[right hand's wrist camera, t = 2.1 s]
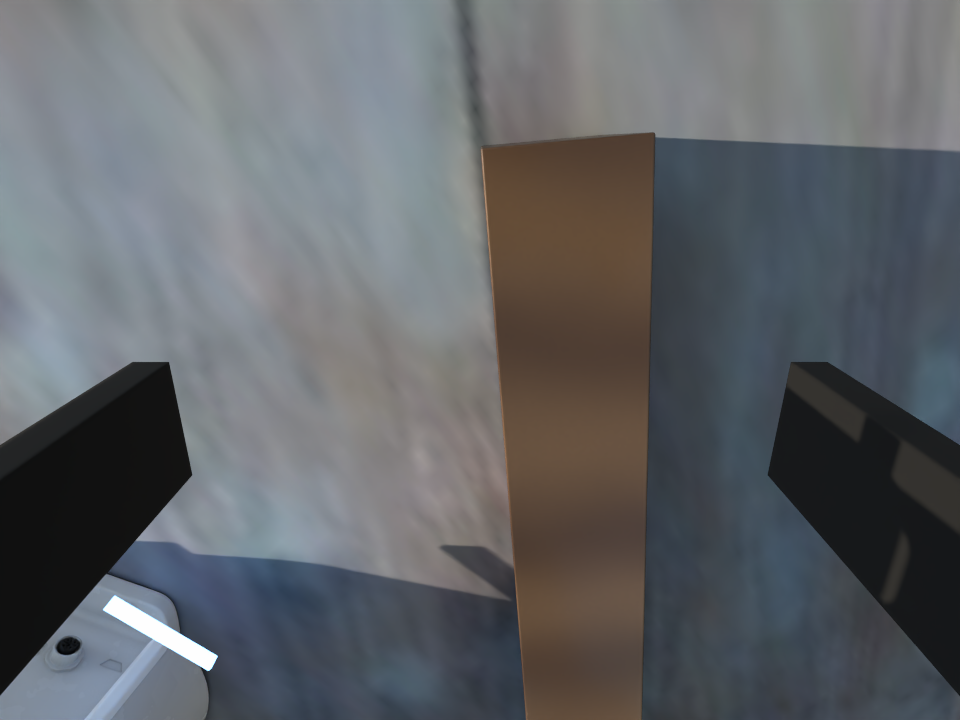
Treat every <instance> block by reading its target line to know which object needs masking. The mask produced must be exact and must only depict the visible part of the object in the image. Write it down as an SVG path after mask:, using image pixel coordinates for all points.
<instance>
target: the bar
mask: <svg viewBox="0 0 960 720" xmlns="http://www.w3.org/2000/svg"><path fill="white" fill-rule="evenodd" d="M481 158H482V171H483V183H484V196H485V208H486V221H487V234H488V246H489V259H490V271H491V284H492V296H493V309H494V322H495V334H496V347H497V359H498V372H499V384H500V397H501V410H502V422H503V435H504V447H505V460H506V472H507V485H508V498H509V510H510V523H511V535H512V548H513V560H514V573H515V586H516V598H517V611H518V623H519V636H520V648H521V661H522V674H523V686H524V699H525V711H526V720H642V690H643V646H644V603H645V559H646V516H647V472H648V429H649V385H650V342H651V298H652V255H653V211H654V168H655V133H653V132H652V133H633V134H613V135H598V136H587V137H576V138H565V139H554V140H543V141H532V142H521V143H510V144H499V145H488V146H482V147H481Z"/></svg>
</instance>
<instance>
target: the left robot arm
mask: <svg viewBox="0 0 960 720" xmlns="http://www.w3.org/2000/svg"><path fill="white" fill-rule="evenodd" d="M216 658H217V655H215V654H213V653H212V652H210V651H208V650H206V649H205V648H203V647H201V646H200V645H198V644H196V643H195V642H193V641H191V640H189V639H188V638H186V637H184V636H183V635H181V634H180V627H179V621H178V616H177V612H176V609H175V606H174V604H173V603H172V601H171V600H170V599H169V598H168V597H167V596H165V595H163V594H161V593H159V592H156V591H154V590H151V589H148V588H145V587H142V586H140V585H137V584H134V583H131V582H128V581H125V580H122V579H120V578H117V577H114V576H111V575H108V574H106V575H105V576H104V577H103V578H102V579H101V581H100V582H99V583H98V584H97V585H96V586H95V587H94V589H93V590H92V591H91V592H90V593H89V594H88V595H87V597H86V598H85V599H84V600H83V601H82V602H81V603H80V605H79V606H78V607H77V608H76V609H75V610H74V612H73V613H72V614H71V615H70V616H69V617H68V618H67V620H66V621H65V622H64V623H63V624H62V625H61V626H60V628H59V629H58V630H57V631H56V632H55V633H54V635H53V636H52V637H51V638H50V639H49V640H48V641H47V643H46V644H45V645H44V646H43V647H42V648H41V649H40V651H39V652H38V653H37V654H36V655H35V656H34V658H33V659H32V660H31V661H30V662H29V663H28V664H27V666H26V667H25V668H24V669H23V670H22V671H21V672H20V674H19V675H18V676H17V677H16V678H15V679H14V681H13V682H12V683H11V684H10V685H9V686H8V687H7V689H6V690H5V691H4V692H3V693H2V694H1V695H0V720H205V718H206V715H207V711H208V705H209V693H208V686H207V682H206V679H205V676H204V674H203V671H202V669H201V667H203V668H204V669H206V670H208V671H209V670H210V669H211V668H212V666H213V664H214V662H215V660H216ZM200 666H201V667H200Z"/></svg>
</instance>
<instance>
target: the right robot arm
mask: <svg viewBox="0 0 960 720" xmlns="http://www.w3.org/2000/svg"><path fill="white" fill-rule="evenodd" d="M191 476H192V471H191V467H190V462H189V457H188V452H187V447H186V442H185V438H184V433H183V428H182V423H181V418H180V413H179V409H178V404H177V399H176V394H175V389H174V384H173V380H172V375H171V370H170V365H169V362H132V363H130V364H129V365H127V366H126V367H124V368H122V369H121V370H119V371H118V372H116V373H114V374H113V375H111V376H110V377H108V378H107V379H105V380H103V381H102V382H100V383H99V384H97V385H95V386H94V387H92V388H91V389H89V390H87V391H86V392H84V393H83V394H81V395H79V396H78V397H76V398H75V399H73V400H71V401H70V402H68V403H67V404H65V405H63V406H62V407H60V408H59V409H57V410H55V411H54V412H52V413H51V414H49V415H48V416H46V417H44V418H43V419H41V420H40V421H38V422H36V423H35V424H33V425H32V426H30V427H28V428H27V429H25V430H24V431H22V432H20V433H19V434H17V435H16V436H14V437H12V438H11V439H9V440H8V441H6V442H4V443H3V444H1V445H0V695H1V694H2V693H3V692H4V691H5V690H6V689H7V687H8V686H9V685H10V684H11V683H12V682H13V681H14V679H15V678H16V677H17V676H18V675H19V674H20V672H21V671H22V670H23V669H24V668H25V667H26V666H27V664H28V663H29V662H30V661H31V660H32V659H33V658H34V656H35V655H36V654H37V653H38V652H39V651H40V649H41V648H42V647H43V646H44V645H45V644H46V643H47V641H48V640H49V639H50V638H51V637H52V636H53V635H54V633H55V632H56V631H57V630H58V629H59V628H60V626H61V625H62V624H63V623H64V622H65V621H66V620H67V618H68V617H69V616H70V615H71V614H72V613H73V612H74V610H75V609H76V608H77V607H78V606H79V605H80V603H81V602H82V601H83V600H84V599H85V598H86V597H87V595H88V594H89V593H90V592H91V591H92V590H93V589H94V587H95V586H96V585H97V584H98V583H99V582H100V581H101V579H102V578H103V577H104V576H105V575H106V574H107V572H108V571H109V570H110V569H111V568H112V567H113V566H114V564H115V563H116V562H117V561H118V560H119V559H120V558H121V556H122V555H123V554H124V553H125V552H126V551H127V549H128V548H129V547H130V546H131V545H132V544H133V543H134V541H135V540H136V539H137V538H138V537H139V536H140V535H141V533H142V532H143V531H144V530H145V529H146V528H147V526H148V525H149V524H150V523H151V522H152V521H153V520H154V518H155V517H156V516H157V515H158V514H159V513H160V512H161V510H162V509H163V508H164V507H165V506H166V505H167V503H168V502H169V501H170V500H171V499H172V498H173V497H174V495H175V494H176V493H177V492H178V491H179V490H180V489H181V487H182V486H183V485H184V484H185V483H186V482H187V480H188V479H189V478H190V477H191ZM768 476H769V477H770V478H771V479H772V480H773V482H774V483H775V484H776V485H777V486H778V487H779V489H780V490H781V491H782V492H783V493H784V494H785V495H786V497H787V498H788V499H789V500H790V501H791V502H792V503H793V505H794V506H795V507H796V508H797V509H798V510H799V512H800V513H801V514H802V515H803V516H804V517H805V518H806V520H807V521H808V522H809V523H810V524H811V525H812V526H813V528H814V529H815V530H816V531H817V532H818V533H819V535H820V536H821V537H822V538H823V539H824V540H825V541H826V543H827V544H828V545H829V546H830V547H831V548H832V549H833V551H834V552H835V553H836V554H837V555H838V556H839V558H840V559H841V560H842V561H843V562H844V563H845V564H846V566H847V567H848V568H849V569H850V570H851V571H852V572H853V574H854V575H855V576H856V577H857V578H858V579H859V581H860V582H861V583H862V584H863V585H864V586H865V587H866V589H867V590H868V591H869V592H870V593H871V594H872V595H873V597H874V598H875V599H876V600H877V601H878V602H879V603H880V605H881V606H882V607H883V608H884V609H885V610H886V612H887V613H888V614H889V615H890V616H891V617H892V618H893V620H894V621H895V622H896V623H897V624H898V625H899V626H900V628H901V629H902V630H903V631H904V632H905V633H906V635H907V636H908V637H909V638H910V639H911V640H912V641H913V643H914V644H915V645H916V646H917V647H918V648H919V649H920V651H921V652H922V653H923V654H924V655H925V656H926V658H927V659H928V660H929V661H930V662H931V663H932V664H933V666H934V667H935V668H936V669H937V670H938V671H939V672H940V674H941V675H942V676H943V677H944V678H945V679H946V681H947V682H948V683H949V684H950V685H951V686H952V687H953V689H954V690H955V691H956V692H957V693H958V694H959V695H960V445H959V444H957V443H956V442H954V441H952V440H951V439H949V438H948V437H946V436H944V435H943V434H941V433H940V432H938V431H936V430H935V429H933V428H932V427H930V426H928V425H927V424H925V423H924V422H922V421H920V420H919V419H917V418H916V417H914V416H912V415H911V414H909V413H908V412H906V411H905V410H903V409H901V408H900V407H898V406H897V405H895V404H893V403H892V402H890V401H889V400H887V399H885V398H884V397H882V396H881V395H879V394H877V393H876V392H874V391H873V390H871V389H869V388H868V387H866V386H865V385H863V384H861V383H860V382H858V381H857V380H855V379H853V378H852V377H850V376H849V375H847V374H846V373H844V372H842V371H841V370H839V369H838V368H836V367H834V366H833V365H831V364H830V363H828V362H791V365H790V370H789V375H788V380H787V384H786V389H785V394H784V399H783V404H782V409H781V413H780V418H779V423H778V428H777V433H776V438H775V442H774V447H773V452H772V457H771V462H770V467H769V471H768Z"/></svg>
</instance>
